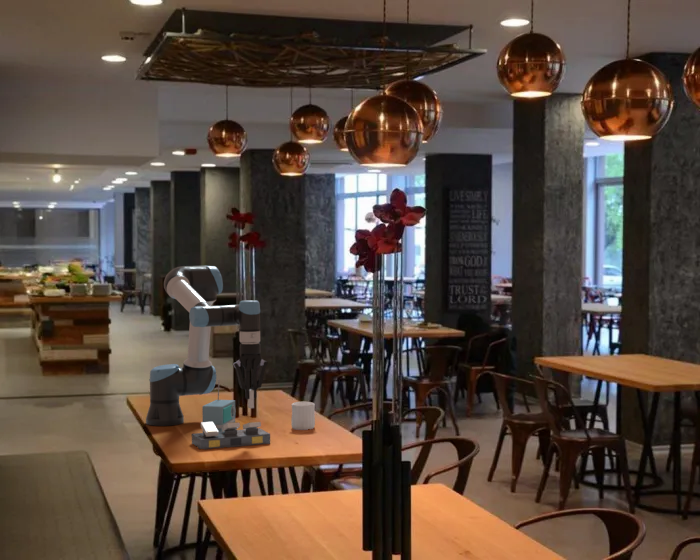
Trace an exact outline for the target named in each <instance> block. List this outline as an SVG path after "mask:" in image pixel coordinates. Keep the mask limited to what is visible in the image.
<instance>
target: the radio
mask: <svg viewBox="0 0 700 560" xmlns="http://www.w3.org/2000/svg"><path fill="white" fill-rule="evenodd" d="M217 381H218V385H217V399H215V400H213V401H211V402H208V403H206V404H204V405H202V407H201V408H202V422H213V423H214V425H215V426H216V428H217V430H218V431H219V432H220V431H222V427H224V426H225V425H226V424H228V423H235V422H236V413H237V411H236V410H237V409H236V400H234V399H219V396H220V381H221V380H220V379H218V380H217Z"/></svg>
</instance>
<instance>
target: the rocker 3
mask: <svg viewBox="0 0 700 560" xmlns="http://www.w3.org/2000/svg"><path fill="white" fill-rule="evenodd" d="M260 427H262V422H261V421H251V422H247V423H244V424H242V430H244V429H249V428H260Z"/></svg>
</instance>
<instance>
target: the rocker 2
mask: <svg viewBox="0 0 700 560" xmlns="http://www.w3.org/2000/svg"><path fill="white" fill-rule="evenodd" d="M240 427H241V424H240V422H239V421H237V422H236V421H235V423H228V424H226V425H225V426H224V427H222V432H225V430H239V428H240Z"/></svg>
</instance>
